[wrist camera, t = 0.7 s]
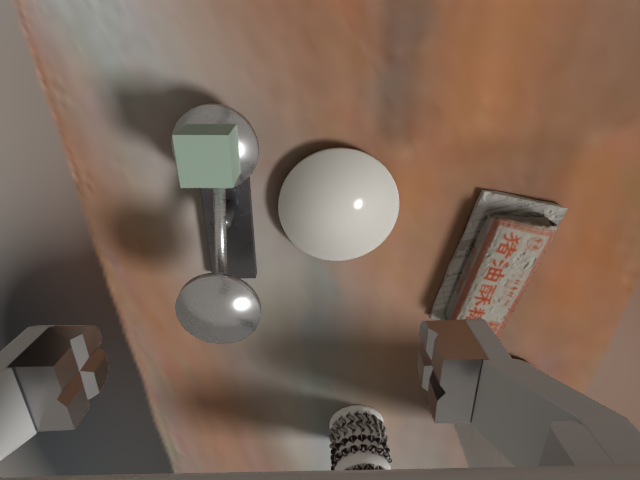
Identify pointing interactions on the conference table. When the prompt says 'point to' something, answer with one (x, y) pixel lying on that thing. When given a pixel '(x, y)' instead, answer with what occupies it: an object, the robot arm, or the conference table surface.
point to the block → (207, 155)
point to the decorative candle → (358, 439)
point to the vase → (479, 448)
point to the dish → (338, 204)
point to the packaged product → (496, 258)
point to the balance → (224, 244)
